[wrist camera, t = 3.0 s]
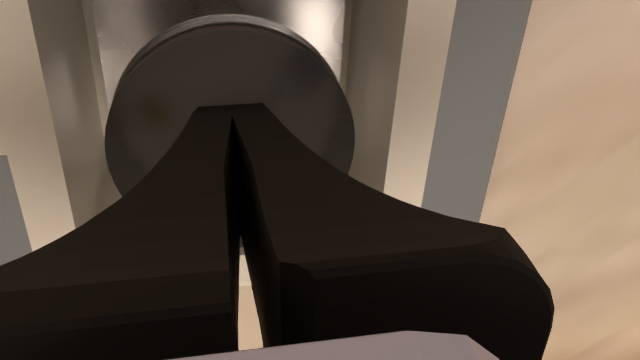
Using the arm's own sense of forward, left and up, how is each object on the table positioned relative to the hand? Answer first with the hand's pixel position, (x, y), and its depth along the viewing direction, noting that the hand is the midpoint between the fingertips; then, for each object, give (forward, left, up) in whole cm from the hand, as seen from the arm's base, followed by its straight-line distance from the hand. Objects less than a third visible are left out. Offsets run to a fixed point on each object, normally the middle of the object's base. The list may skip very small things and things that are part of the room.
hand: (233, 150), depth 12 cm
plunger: (0, 0, -6) cm, 6 cm away
